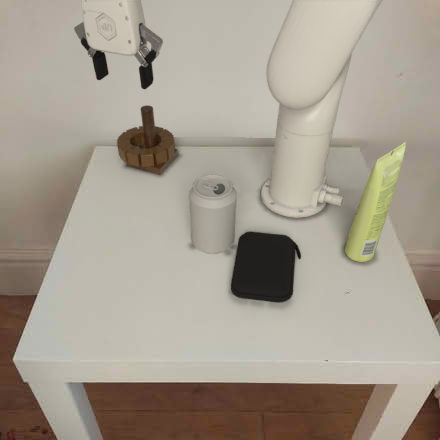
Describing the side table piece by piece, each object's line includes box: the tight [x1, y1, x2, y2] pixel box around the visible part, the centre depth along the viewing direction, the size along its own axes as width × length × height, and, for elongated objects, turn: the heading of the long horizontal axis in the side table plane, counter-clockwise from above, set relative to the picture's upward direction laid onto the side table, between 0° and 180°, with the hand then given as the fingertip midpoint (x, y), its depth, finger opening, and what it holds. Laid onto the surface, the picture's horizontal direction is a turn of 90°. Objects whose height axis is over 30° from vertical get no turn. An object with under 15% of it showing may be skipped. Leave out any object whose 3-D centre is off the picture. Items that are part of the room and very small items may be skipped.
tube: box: [344, 141, 408, 263], centre depth 71 cm, size 6×5×20 cm
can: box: [188, 174, 237, 255], centre depth 75 cm, size 8×8×12 cm
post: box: [125, 104, 179, 176], centre depth 91 cm, size 8×8×12 cm
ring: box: [116, 125, 176, 167], centre depth 94 cm, size 12×12×3 cm
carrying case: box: [230, 230, 302, 304], centre depth 73 cm, size 11×3×15 cm
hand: (124, 81), depth 85 cm, fingers open, 9 cm apart
